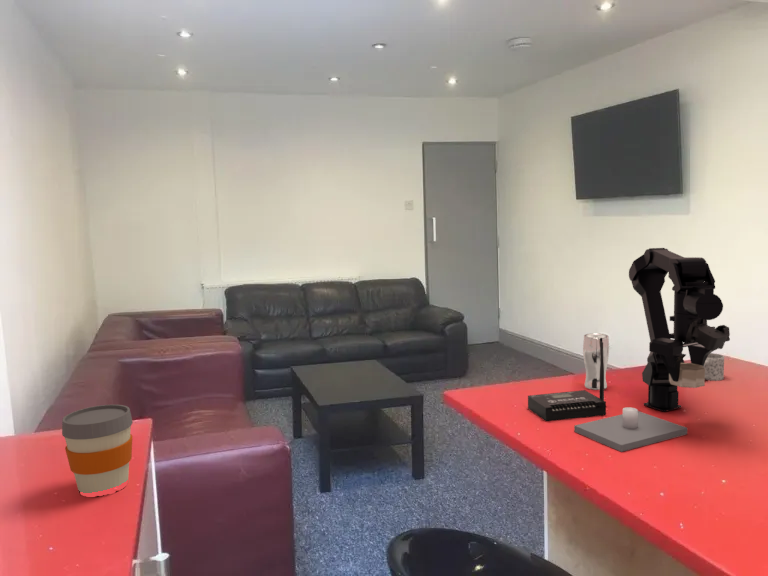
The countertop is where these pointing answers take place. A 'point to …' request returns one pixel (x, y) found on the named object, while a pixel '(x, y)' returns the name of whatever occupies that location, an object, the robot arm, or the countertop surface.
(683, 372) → the ring
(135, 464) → the countertop surface
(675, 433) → the post board
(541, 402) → the wireless controller
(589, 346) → the beer glass
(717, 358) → the mug
